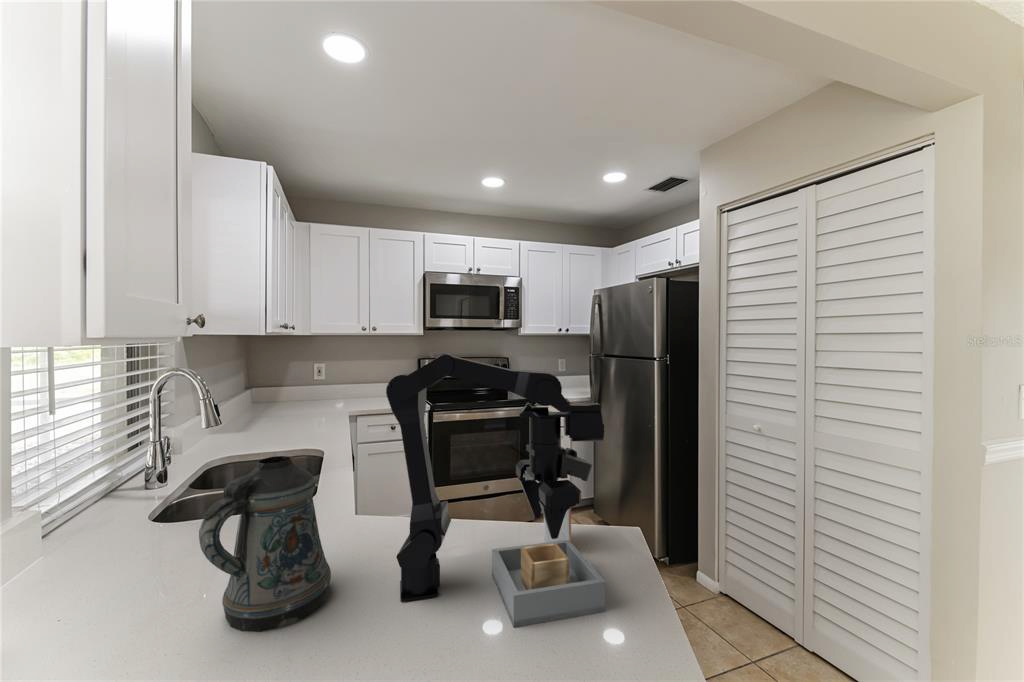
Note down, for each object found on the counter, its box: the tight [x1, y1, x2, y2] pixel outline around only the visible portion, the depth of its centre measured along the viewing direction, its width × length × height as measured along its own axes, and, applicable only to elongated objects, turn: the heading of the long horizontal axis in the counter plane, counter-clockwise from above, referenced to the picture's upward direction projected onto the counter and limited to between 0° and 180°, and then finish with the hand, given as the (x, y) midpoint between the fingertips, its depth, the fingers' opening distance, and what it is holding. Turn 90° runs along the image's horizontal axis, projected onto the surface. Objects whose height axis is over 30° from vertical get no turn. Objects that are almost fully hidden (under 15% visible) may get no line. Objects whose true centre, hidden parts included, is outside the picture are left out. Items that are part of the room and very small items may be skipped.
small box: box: [543, 507, 572, 543], centre depth 96 cm, size 8×6×10 cm
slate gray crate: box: [491, 540, 606, 628], centre depth 78 cm, size 16×16×5 cm
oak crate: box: [521, 543, 569, 590], centre depth 78 cm, size 7×6×6 cm
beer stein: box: [198, 455, 332, 633], centre depth 74 cm, size 16×19×25 cm
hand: (545, 527), depth 78 cm, fingers open, 9 cm apart
